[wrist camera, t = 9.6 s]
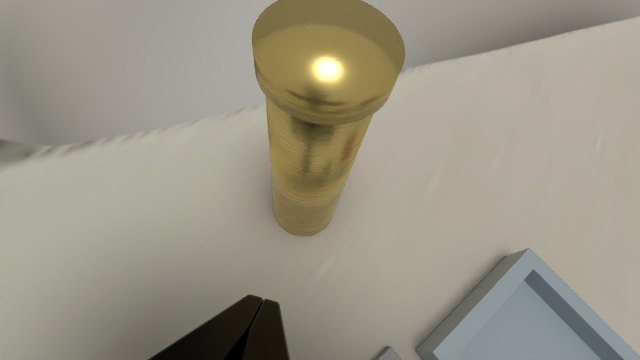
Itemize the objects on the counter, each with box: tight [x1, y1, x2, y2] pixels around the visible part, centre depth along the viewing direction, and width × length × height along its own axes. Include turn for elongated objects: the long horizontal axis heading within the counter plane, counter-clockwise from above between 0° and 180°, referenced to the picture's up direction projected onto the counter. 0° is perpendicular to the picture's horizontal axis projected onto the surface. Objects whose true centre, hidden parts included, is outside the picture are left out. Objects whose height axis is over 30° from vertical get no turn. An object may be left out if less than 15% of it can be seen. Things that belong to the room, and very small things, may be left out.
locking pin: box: [252, 0, 405, 236], centre depth 17 cm, size 5×5×15 cm
